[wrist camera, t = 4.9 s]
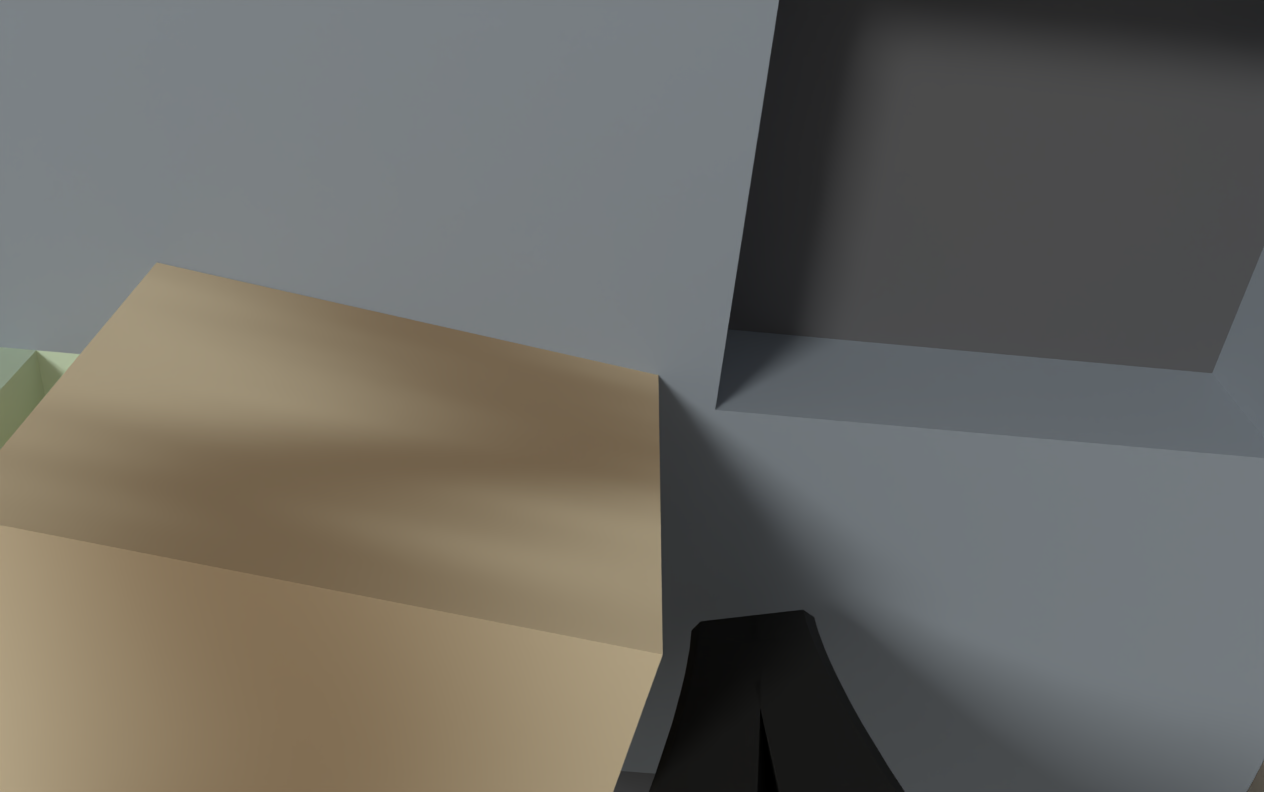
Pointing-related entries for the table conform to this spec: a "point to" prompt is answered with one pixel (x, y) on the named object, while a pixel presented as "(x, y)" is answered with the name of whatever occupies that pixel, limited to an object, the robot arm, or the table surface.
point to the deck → (765, 307)
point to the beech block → (325, 556)
